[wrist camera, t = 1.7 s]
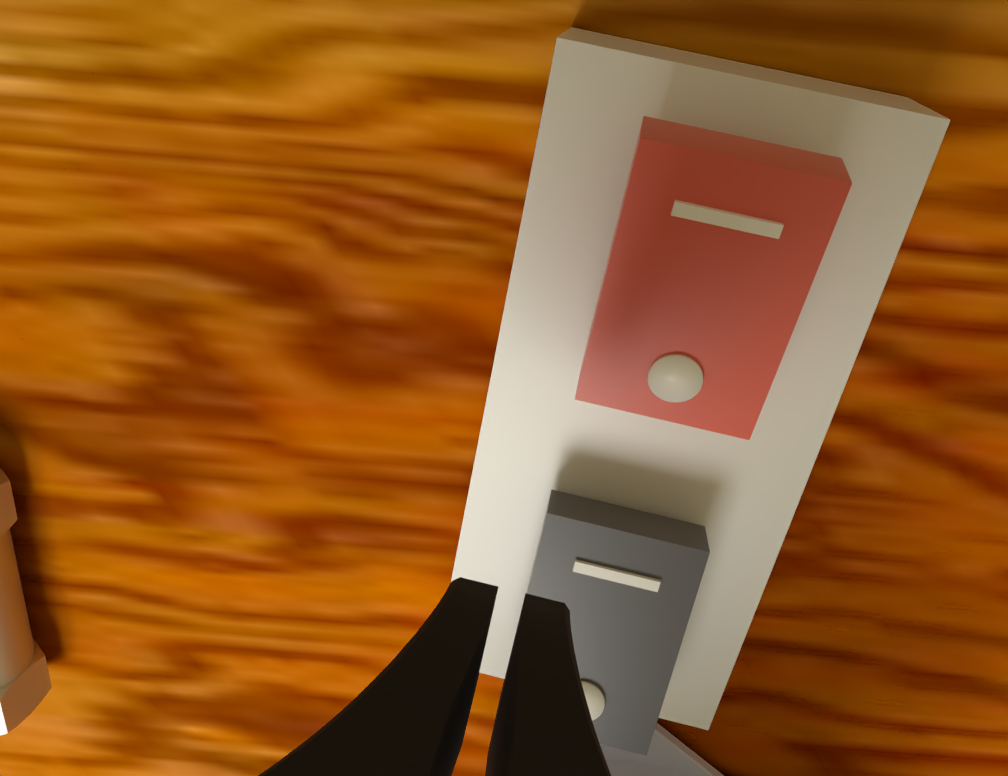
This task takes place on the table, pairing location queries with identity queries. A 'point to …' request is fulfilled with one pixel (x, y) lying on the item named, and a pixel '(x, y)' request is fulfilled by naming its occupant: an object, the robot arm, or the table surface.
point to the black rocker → (621, 605)
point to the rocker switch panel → (570, 310)
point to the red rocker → (708, 274)
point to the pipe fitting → (16, 631)
